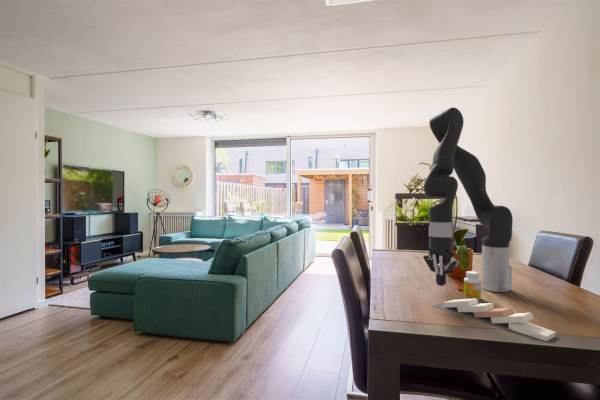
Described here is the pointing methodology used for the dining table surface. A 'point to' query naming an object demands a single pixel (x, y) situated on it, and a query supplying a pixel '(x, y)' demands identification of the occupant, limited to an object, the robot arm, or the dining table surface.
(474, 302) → the domino
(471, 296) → the supplement bottle
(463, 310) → the domino
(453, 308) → the mat
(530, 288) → the dining table surface
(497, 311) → the domino
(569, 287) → the dining table surface
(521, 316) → the domino
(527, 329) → the domino
